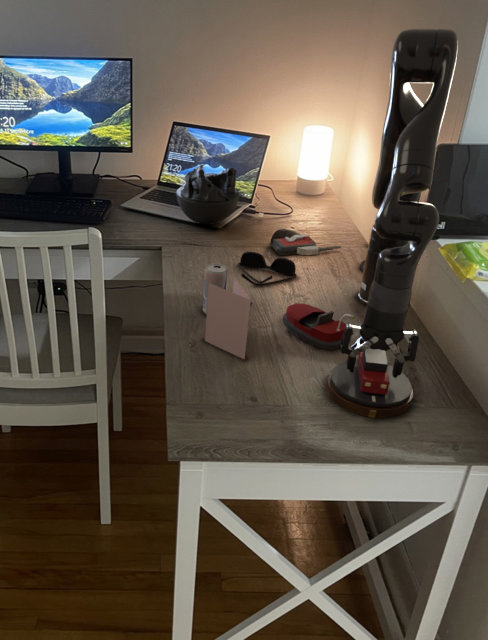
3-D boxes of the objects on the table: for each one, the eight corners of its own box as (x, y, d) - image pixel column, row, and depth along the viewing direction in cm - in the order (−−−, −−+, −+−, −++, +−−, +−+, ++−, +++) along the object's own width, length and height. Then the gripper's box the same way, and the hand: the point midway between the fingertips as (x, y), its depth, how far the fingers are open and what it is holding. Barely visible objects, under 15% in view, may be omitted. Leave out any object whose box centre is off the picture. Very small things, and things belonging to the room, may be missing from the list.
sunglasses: (222, 284, 183) (224, 267, 181) (239, 264, 195) (241, 248, 192) (283, 297, 177) (286, 280, 175) (297, 275, 189) (299, 259, 186)
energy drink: (225, 307, 172) (229, 264, 166) (221, 317, 168) (225, 273, 161) (204, 305, 173) (207, 261, 167) (200, 314, 169) (203, 270, 163)
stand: (325, 365, 150) (326, 358, 149) (405, 375, 147) (407, 367, 146) (327, 412, 135) (329, 404, 134) (416, 424, 132) (419, 416, 131)
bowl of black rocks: (163, 223, 220) (165, 166, 211) (197, 207, 234) (200, 152, 224) (215, 239, 210) (219, 179, 200) (248, 220, 224) (253, 164, 214)
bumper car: (303, 312, 171) (308, 276, 165) (363, 348, 156) (371, 310, 151) (273, 322, 166) (278, 285, 161) (332, 360, 152) (339, 321, 147)
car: (329, 358, 148) (334, 333, 145) (405, 367, 146) (412, 341, 142) (331, 401, 135) (336, 374, 131) (416, 411, 132) (423, 384, 129)
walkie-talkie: (279, 259, 198) (341, 253, 202) (281, 245, 196) (344, 239, 200) (267, 247, 205) (327, 241, 210) (269, 233, 203) (329, 228, 207)
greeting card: (248, 359, 152) (254, 299, 144) (216, 362, 150) (221, 302, 143) (232, 333, 161) (238, 276, 153) (202, 336, 160) (206, 278, 152)
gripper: (424, 297, 132) (406, 367, 141) (349, 290, 135) (336, 359, 143) (430, 315, 126) (411, 387, 134) (351, 307, 128) (337, 378, 137)
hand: (372, 372), depth 139 cm, fingers open, 8 cm apart
